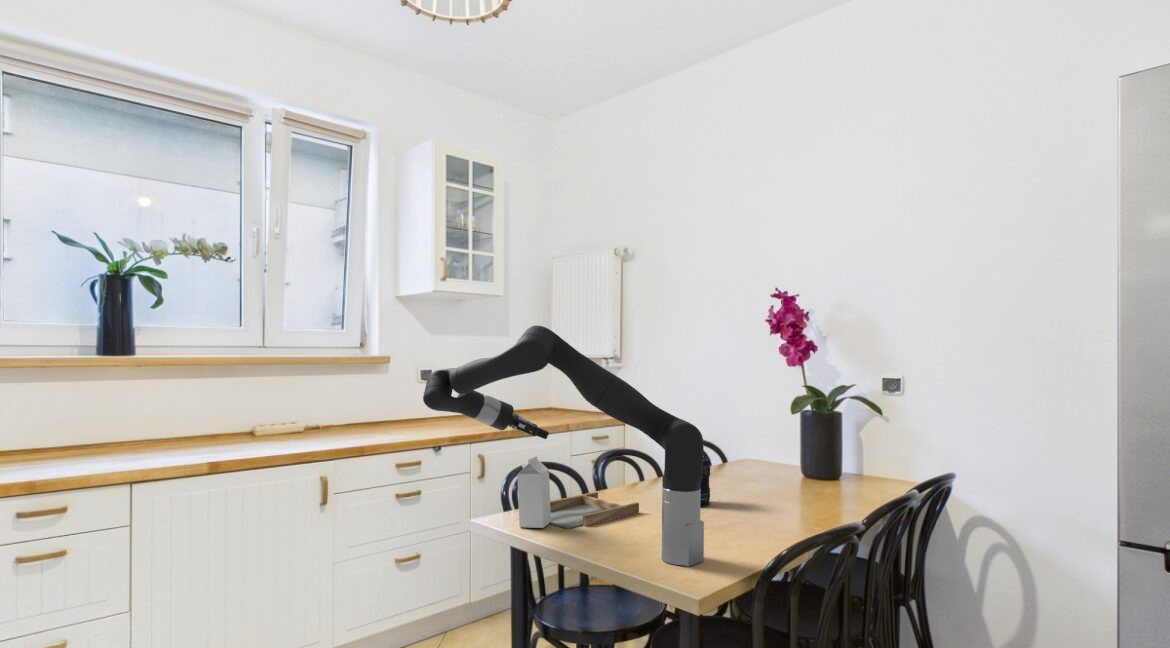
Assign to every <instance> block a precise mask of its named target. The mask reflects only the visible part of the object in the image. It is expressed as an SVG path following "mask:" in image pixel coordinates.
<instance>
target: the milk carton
mask: <svg viewBox="0 0 1170 648" xmlns="http://www.w3.org/2000/svg"><path fill="white" fill-rule="evenodd" d="M521 467H522V469H521V470H520V471H519V472H518V473H517V475H516V476H517V498H518V499H517V500H518V501H517V502H518V521H519V522H518V525H519V528H529V529H531V528H535V529H536V528H537V529H539V528H540V529H544V528H545V527H546V526H547V525H549V523H550V522H551V508H550V501H551V493H550V469H549V468H547V466H546V465H544V464H543V462H541V461H540V460H539V459H538V455H535V456H533V457H531V458H529V459H528V460H527V461H525V462H524V463H523V464H521Z"/></svg>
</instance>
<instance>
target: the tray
mask: <svg viewBox="0 0 1170 648" xmlns="http://www.w3.org/2000/svg"><path fill="white" fill-rule="evenodd" d="M550 508H551V522H550V523H551V524H550V525H552V524H554V525H553V526H555V525H557V526H556V527H558V526H559V527H558V528H561V527H562V528H561V529H564V528H565V529H564V530H570V528H571V529H574V528H573V527H575V528H578V527H577V526H579V527H581V526H580V525H584V526H583V527H588V526H587V525H589V526H593V525H596V524H595V523H597V524H600V523H599V522H601V523H604V522H603V521H605V522H608V521H607V520H609V521H611V520H610V519H613V520H616V519H615V518H617V519H619V518H618V517H621V518H623V517H622V516H625V517H627V516H626V515H629V516H631V515H630V514H633V515H635V514H634V513H636V514H639V513H640V503H639V502H636V501H635V502H632V503H627V504H624V505H623V504H619V503H615V502H611V501H608V500H605V499H600V498H599V492H597V491H593V492H589V493H584V494H579V495H575V496H569V497H565V498H559V499H554V500H550ZM638 512H639V513H638ZM592 524H593V525H592Z"/></svg>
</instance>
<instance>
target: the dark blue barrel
mask: <svg viewBox="0 0 1170 648" xmlns="http://www.w3.org/2000/svg"><path fill="white" fill-rule="evenodd" d="M710 462H711V458H709V457H707V456H703V475H702V479H701V492H700V507H702V508H704V507H703V506H708V505H709V506H711V505H710V504H711V502H710V500H711V499H710V498H711V488H710V476H711V463H710ZM709 506H708V507H709Z"/></svg>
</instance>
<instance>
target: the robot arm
mask: <svg viewBox="0 0 1170 648" xmlns="http://www.w3.org/2000/svg"><path fill="white" fill-rule="evenodd" d="M549 364H550V365H551V366H552V367H554V368H555V369H557V370H559V371H561V373H562V374H564V375H565V376H566V377H567V378H568V379H569V380H570V381H571V382H572V384H573V385H574V387H575V388H576V390H577V391H578V392H579V394H580V395H581V396H582V397H583V399H584V400H585V401H587V403H589V404H590V405H591V406H593V407H595V408H596V409H598V410H599V411H600V412H603V414H606V415H607V416H609V417H610V418H613V419H614V420H616V421H618V422H621V423H623V424H625V425H628V426H629V427H632V428H634V429H636V430H638V431H639V432H642V434H645V435H646V436H648V438H650V439H651V440H653V442H655V443H656V444H657V445H659V446H660V447H661V448H662V449H663V450H664V469H663V470H664V471H663V475H662V479H661V480H662V481H661V483H662V486H661V487H662V488H661V490H662V491H661V496H662V497H661V560H662V561H664V562H665V563H668V564H671V565H677V566H684V567H691V566H694V565H697V564H700V563H702V562H704V559H705V554H704V553H705V551H704V550H705V548H704V547H705V546H704V545H705V544H704V543H705V541H704V540H705V537H704V536H705V532H704V531H705V522H704V520H701V508H700V492H701V479H702V475H703V457H704V438H703V435H702V432H701V431H700V429H699V428H698V427H696V425H694V424H693V423H690V422H689V421H687V420H685V419H682V418H679V417H677V416H675V415H673V414H671V413H670V412H668V411H665V410H663V409H662V408H660V407H659V406H656V405H655V404H654V403H653V402H652V401H650V400H649V399H648V398H646V397H645V396H644V394H642V393H641V392H640V391H639V390H637V389H636V388H634V387H633V386H632V385H630V384H629V383H628V382H626V381H625V380H623V379H622V378H620V377H618V376H617V375H615V374H614V373H612V372H611V371H609V370H607V369H606V368H604V367H602V366H601V365H600V364H598V363H596V362H595V361H594V360H592V359H590V358H589V357H587V356H586V355H584V354H583V353H581V352H580V351H579V350H577V349H576V348H574V346H572V345H570V344H569V343H568V342H567V341H566V340H564V339H563V338H561V336H559V335H558V334H556V332H554V331H553V330H551V329H550V328H548V327H546V326H543V325H532V326H529V327H528V328H527V329H526V330H525V331H524V332H523V334H522V335H520V337H519V338H518V340H517V341H516V343H515V344H514V345H513V346H511V347H510V348H508V349H507V350H506V351H504V352H502V353H500V354H498V355H495V356H492V357H483V358H478V359H474V360H471V361H469V362H467V363H464V364H462V365H460V366H458V367H454V368H453V367H451V368H449V367H448V368H441V369H436V370H434V371H433V372H431V373H430V374H429V376H428V377H427V379H426V384H425V389H424V391H423V396H422V400H423V404H424V405H425V406H426V407H427V408H429V409H430V410H433V411H438V412H447V413H456V414H461V415H463V416H466V417H469V418H471V419H472V420H473V419H474V420H475V421H478V422H479V423H481V424H483V425H486V426H489V427H492V428H493V429H495V430H499V431H504V430H507V428H508V427H510V428H511V429H513V430H515V431H519V432H521V433H524V434H529V435H531V436H533V437H539V438H542V439H544V440H547V439H548V437H549V435H550V432H549V431H547V430H545V429H543V428H541V427H538V426H539V425H538V424H535V423H533V422H532V421H530V420H528V419H526V418H524V417H523V416H521V415H520V414H519V413H516V412H515V411H514V406H513V404H511V403H510V404H509V403H507V402H505V401H503V400H500V399H497V398H495V397H493V396H491V395H487V394H484V393H481V392H478V391H477V390H478V389H480V388H482V387H484V386H486V385H489V384H493V383H495V382H497V381H500V380H504V379H508V378H512V377H516V376H522V375H526V374H530V373H535V372H538V371H541V370H543V369H544V368H546V367H547V366H548V365H549ZM453 391H454V392H455V393H457V397H456V396H452V395H453ZM514 412H515V413H514Z"/></svg>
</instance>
